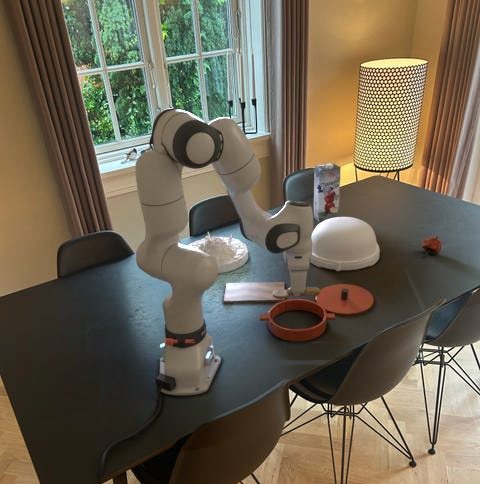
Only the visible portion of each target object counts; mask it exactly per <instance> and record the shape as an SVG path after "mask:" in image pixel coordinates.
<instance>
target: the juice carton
mask: <svg viewBox="0 0 480 484" xmlns="http://www.w3.org/2000/svg"><path fill="white" fill-rule="evenodd" d="M313 185H314V186H313V218H314V219H315V220H316V221H317V222H318V223H319V224H320V223H321V222H323V221H325V220H327V219H331V218H335V217H339V209H340V191H341V190H340V189H341V167H340V166H339V165H337V164H335V163H334V162H329V163H326V164H317V165H315V166H314V181H313Z"/></svg>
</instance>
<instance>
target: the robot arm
mask: <svg viewBox="0 0 480 484" xmlns="http://www.w3.org/2000/svg"><path fill="white" fill-rule="evenodd" d="M148 144H149V148H150V150H146V151H145V152H143V153H142V154H140V155H139V156H138V158H136V161H135V182H136V190H137V195H138V200H139V204H140V208H141V212H142V218H143V222H144V227H145V233H144V239H143V241H141V243H139V245H138V247H137V249H136V253H135V262H136V265H137V267H138V268H139V269H140V270H141V271H142V272H144V273H145V274H146V275H148V276H150V277H151V278H154V279H157V280H160V281H163V282H164V283H168V284H169V286H171V290H172V291H171V292H170V293H168V294H167V295H166V296H165V298H164V300H163V301H162V311H163V318H164V335H165V336H164V338H163V343H161V344H160V345H159V347H160V348H164V349H163V353H164V354H162V356H161V357H160V358H159V374H158V375H156V376H155V378H154V379H155V385H156V387H158V390H157V393H156V394H157V397H158V407H157V410H156V412H155V413H154V414H153V416H152V417H151V418H150V420H149V421H148V422H146V423H145V424H144V425H143V426H141V427H140V428H138V429H137V430H136V431H135V432H133V433H131V434H129V435H126V436H125V437H123V438H121V439H118V440H116V441H114V442H113V443H111V444H110V445H109V446H108V447H107V448H106V449H105V450H104V452H103V454H102V457H101V460H100V469H99V475H98V477H99V478H102V477H103V475H104V467H105V459H106V457H107V455H108V453H109V451H111V450H112V449H113V448H114V447H115V446H116V445H119V444H120V443H123V442H125V441H127V440H130V439H131V438H133V437H136V436H137V435H138V434H139V433H141V432H142V431H144V430H145V429H146V428H148V427H149V426H150V425H151V424H152V423H153V422H154V421H155V420H156V418H157V416H158V415H159V413H160V412H161V409H162V400H163V397H162V395H161V393H162V394H165V395H169V396H170V395H171V396H195V395H200V394H203V393H205V392H206V393H207V392H208V390H209V388H210V386H211V384H212V382H213V379H214V378H215V375H216V373H217V371H218V369H219V368H220V365H221V363H222V358H221V357H220V355H217V354H216V351H215V346H214V341H213V338H212V336H211V335H209V333H208V331H207V323H206V320H205V318H204V313H203V312H204V311H203V297H204V293H205V292H206V291H208V290H210V289H211V288H212V287H213V286H214V284H215V283H216V282H217V279H218V276H219V273H218V265H217V262H216V260H215V259H214V258H213V257H212V256H210V255H209V254H207V253H205V252H203V251H202V250H199V249H196V248H193V247H189V246H187V245H186V244H183V243H181V241H180V237H179V236H180V235H179V234H181V233H182V232H183V231H184V230H185V229H186V228H187V226H188V224H189V220H190V219H189V214H188V207H187V201H186V196H185V190H184V187H183V182H182V180H183V179H182V175H183V169H184V167H185V168H188V169H193V170H199V169H204V168H206V167H208V166H210V165H212V168H213V169H214V171H215V174H216V175H217V176H218V178H219V180H220V182H221V183H222V185H223V186H224V189H225V191H226V193H227V195H228V197H229V199H230V201H231V203H232V206H233V208H234V209H235V212H236V214H237V218H238V223H239V231H240V234H241V235H242V237H243V238H244V240H247V241H249V242H251V243H254V244H256V245H257V246H258V247H261V248H262V249H264V250H266V251H267V252H269V253H272V254H281V253H282V258H283V260H284V261H285V263H286V268H287V270H288V272H289V281H290V288H291V289H292V293H293V294H294V295H295V296H294V297H301V296H300V294H303V293H304V291H305V287H306V285H307V278H308V277H307V276H308V270H310V268H311V267H310V265H311V262H310V261H311V259H312V245H313V242H312V238H311V236H312V233H313V231H314V211H313V208H312V205H311V204H310V203H308V202H306V201H304V200H299V199H289V200H286V201H285V204H284V206H283V207H282V209H280V211H279V212H278V213H276V214H275V215H273V214H271V213H269V212H267V211H265V210H264V209H263V208H261V207H260V206H259V205H258V204H257V202H256V199H255V196H254V195H253V192H252V190H251V189H253V188H254V187H255V186H257V183H258V182H259V181H260V178H261V175H262V168H261V163H260V161H259V158H258V155H257V154H256V151H255V150H254V148H253V146H252V144H251V142H250V140H249V139H248V137H247V135H246V134H245V132H244V131H243V130H242V128H241V127H240V126H239V124H238V123H237V122H236V121H235V120H234V119H233V118H230V117H227V116H222V117H218V118H215V119H213V120H212V121H210V122H209V123H208V122H205V121H204V120H202V119H201V118H199V117H198V116H197V115H195V114H193V113H192V112H189V111H185V110H183V109H181V108H179V107H178V108H177V107H170V108H165V109H163V110H161V111H160V112H159V113H158V114H157V115H156V116H155V119H154V120H153V124H152V128H151V135H150V138H149V143H148Z"/></svg>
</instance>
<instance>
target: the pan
mask: <svg viewBox="0 0 480 484" xmlns="http://www.w3.org/2000/svg"><path fill="white" fill-rule="evenodd" d="M289 311H306V312H310V313H313V314H315V315H317V317H319V318H321V320H322V321H320V322H319V323H318V324H317V325H314V326H312V327H309V328H303V329H292V328H288V327H287V328H286V327H283V326H280V325H278V324H277V323H276V322H274V318H275V317H277V316H278V315H280V314H282V313H284V312H289ZM335 320H336V314H334V313H327V311H326V310H325V309H324V308H323V307H322V306H321V305H319V304H318V303H317V302H316V301H312V300H308V299H305V298H304V299H303V298H291V299H285V301H279V302H277V303H275V304H273V306H271V307H270V309H269V310H268V311H267V314H265V313H264V314H259V321H260V322H268V323H267V325H268V326H267V327H268V329H269V331H270V333H271V334H273V335H274V336H275V337H277V338H280V339H282V340H285V341H291V342H305V341H310V340H313V339H316V338H318V337H319V336H321V335H322V334H323V333H324V332H325V331H326V328H327V324H328V323H327V322H328V321H335Z"/></svg>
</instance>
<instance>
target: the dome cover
mask: <svg viewBox="0 0 480 484" xmlns="http://www.w3.org/2000/svg"><path fill="white" fill-rule="evenodd" d="M311 238H312V242H313V245H312V259H311V261H310V264H312V265H314V266H316V267H318V268H325V269H327V270H328V269H329V270H335V271H336V272H340V271H352V270H360V269H363V268H364V269H365V268H366V267H367V268H368V267H372V266H373V265H375V264H376V263H377V262H378V261H379V259H380V253H381V252H380V251H381V250H380V249H381V248H380V246H379V244H378V242H377V237H376V233H375V230H374V229H373V228H372V226H371V225H370V224H369V223H368V222H366V221H364V220H363V219H360V218H356V217H353V216H338V217H335V218H331V219H327V220H325V221H323V222H321V223H320V222H319V223H318V224H317V225H316V226H315V227H314V228H313V232H312V235H311Z"/></svg>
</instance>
